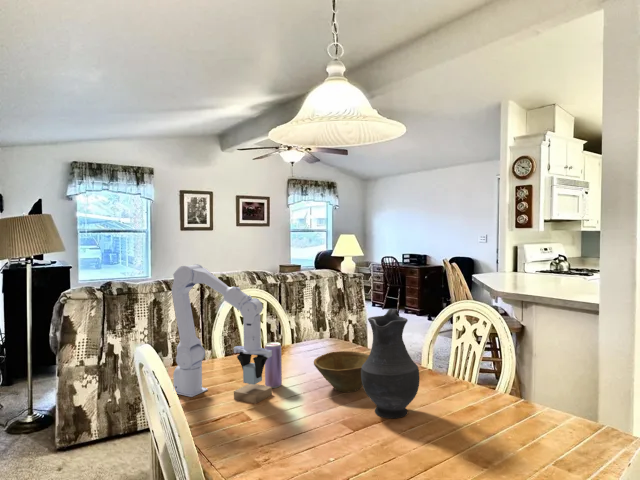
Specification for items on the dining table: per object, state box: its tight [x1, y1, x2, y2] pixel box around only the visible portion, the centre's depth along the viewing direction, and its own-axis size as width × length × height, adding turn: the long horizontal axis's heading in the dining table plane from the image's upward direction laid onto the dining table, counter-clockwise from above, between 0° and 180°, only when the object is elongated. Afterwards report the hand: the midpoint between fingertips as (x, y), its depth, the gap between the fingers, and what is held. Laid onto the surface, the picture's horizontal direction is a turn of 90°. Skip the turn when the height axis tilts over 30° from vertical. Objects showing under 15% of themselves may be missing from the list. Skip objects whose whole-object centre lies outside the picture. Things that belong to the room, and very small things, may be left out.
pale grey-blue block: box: [242, 362, 263, 385], centre depth 146 cm, size 4×4×6 cm
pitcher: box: [361, 308, 420, 419], centre depth 133 cm, size 17×21×30 cm
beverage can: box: [264, 341, 283, 389], centre depth 157 cm, size 6×6×15 cm
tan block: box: [233, 383, 273, 404], centre depth 146 cm, size 9×9×3 cm
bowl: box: [313, 350, 370, 393], centre depth 154 cm, size 22×23×10 cm
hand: (252, 376), depth 146 cm, fingers closed on pale grey-blue block, 4 cm apart
